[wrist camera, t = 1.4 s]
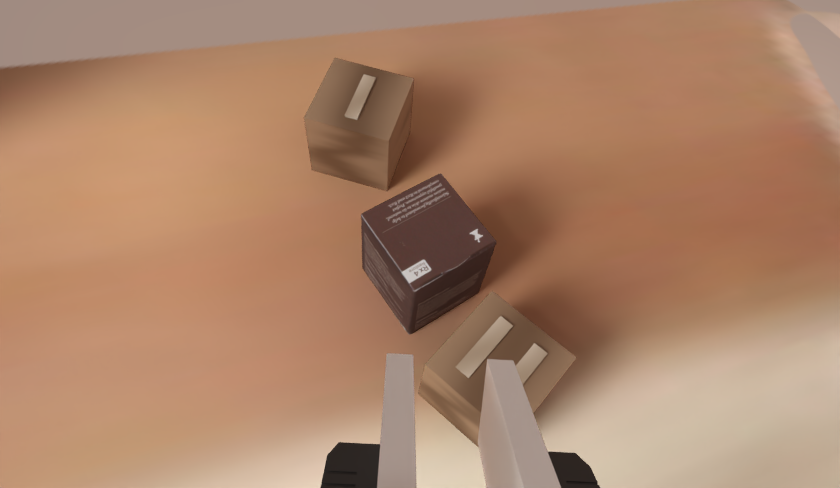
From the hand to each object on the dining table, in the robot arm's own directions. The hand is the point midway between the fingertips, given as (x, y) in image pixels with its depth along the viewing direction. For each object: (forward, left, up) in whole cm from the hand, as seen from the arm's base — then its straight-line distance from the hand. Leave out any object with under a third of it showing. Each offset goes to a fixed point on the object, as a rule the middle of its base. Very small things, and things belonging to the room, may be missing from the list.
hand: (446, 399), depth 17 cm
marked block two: (+2, +7, -20) cm, 22 cm away
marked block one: (-14, +20, -20) cm, 32 cm away
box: (-5, +12, -20) cm, 24 cm away
